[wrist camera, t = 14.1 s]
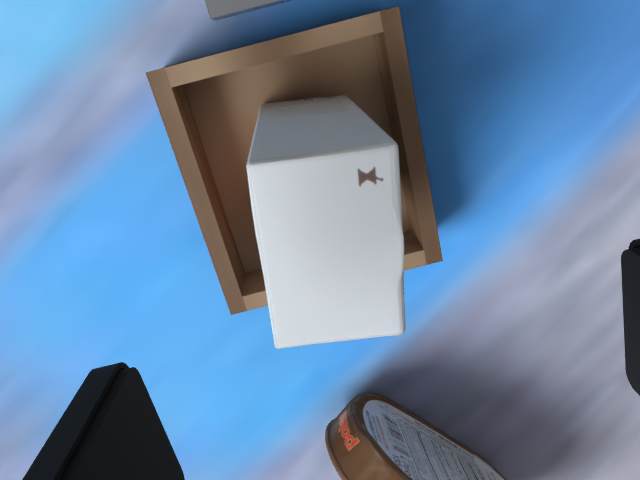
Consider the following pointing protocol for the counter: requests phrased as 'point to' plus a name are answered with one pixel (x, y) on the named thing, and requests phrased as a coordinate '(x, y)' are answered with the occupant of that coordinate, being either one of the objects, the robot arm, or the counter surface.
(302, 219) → the skincare box
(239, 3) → the slot holder
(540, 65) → the counter surface
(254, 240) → the tray
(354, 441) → the tin
